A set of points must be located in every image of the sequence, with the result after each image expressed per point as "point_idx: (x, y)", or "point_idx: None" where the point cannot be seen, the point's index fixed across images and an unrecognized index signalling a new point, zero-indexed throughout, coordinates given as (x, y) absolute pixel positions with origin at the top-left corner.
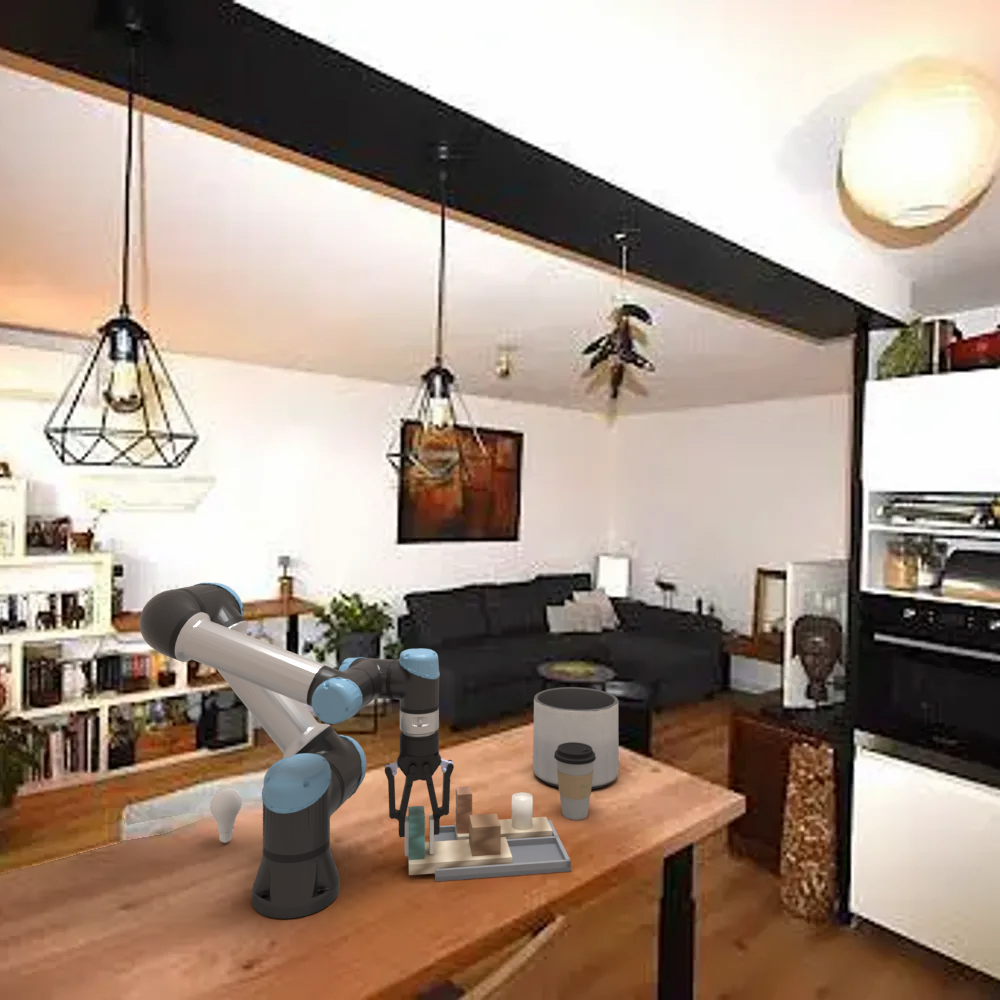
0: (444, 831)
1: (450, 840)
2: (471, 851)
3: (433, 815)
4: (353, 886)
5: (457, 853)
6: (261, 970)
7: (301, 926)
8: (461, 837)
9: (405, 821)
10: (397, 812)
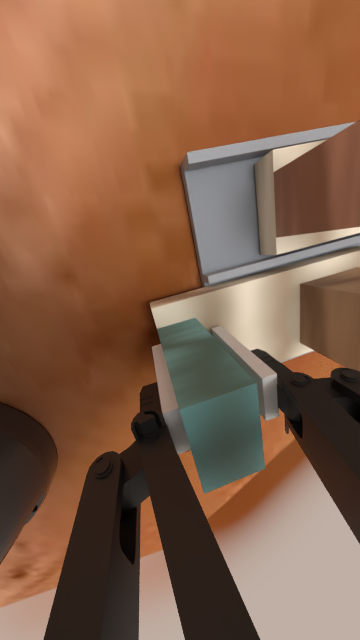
0: (226, 163)
1: (242, 217)
2: (302, 332)
3: (290, 428)
4: (70, 414)
5: (272, 336)
6: (42, 572)
7: (40, 512)
8: (283, 251)
9: (177, 450)
10: (144, 495)
